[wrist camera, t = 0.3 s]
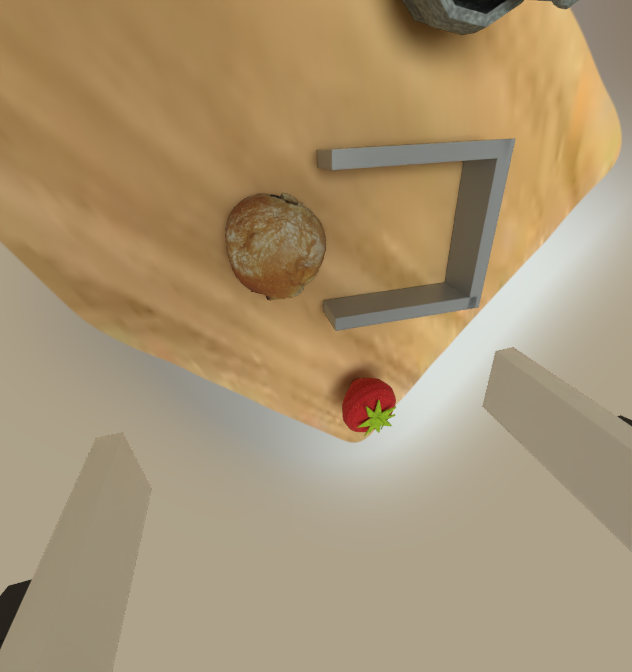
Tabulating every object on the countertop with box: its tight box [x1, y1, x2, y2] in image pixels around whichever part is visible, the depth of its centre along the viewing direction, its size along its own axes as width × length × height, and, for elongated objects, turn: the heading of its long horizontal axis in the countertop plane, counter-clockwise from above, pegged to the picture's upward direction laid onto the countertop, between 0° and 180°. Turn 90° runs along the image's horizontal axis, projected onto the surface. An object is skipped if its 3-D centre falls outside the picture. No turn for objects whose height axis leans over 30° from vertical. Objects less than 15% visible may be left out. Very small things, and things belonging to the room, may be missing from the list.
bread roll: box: [225, 193, 326, 300], centre depth 32 cm, size 10×10×8 cm
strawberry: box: [342, 378, 396, 436], centre depth 42 cm, size 6×8×10 cm
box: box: [317, 139, 515, 331], centre depth 35 cm, size 17×18×5 cm
